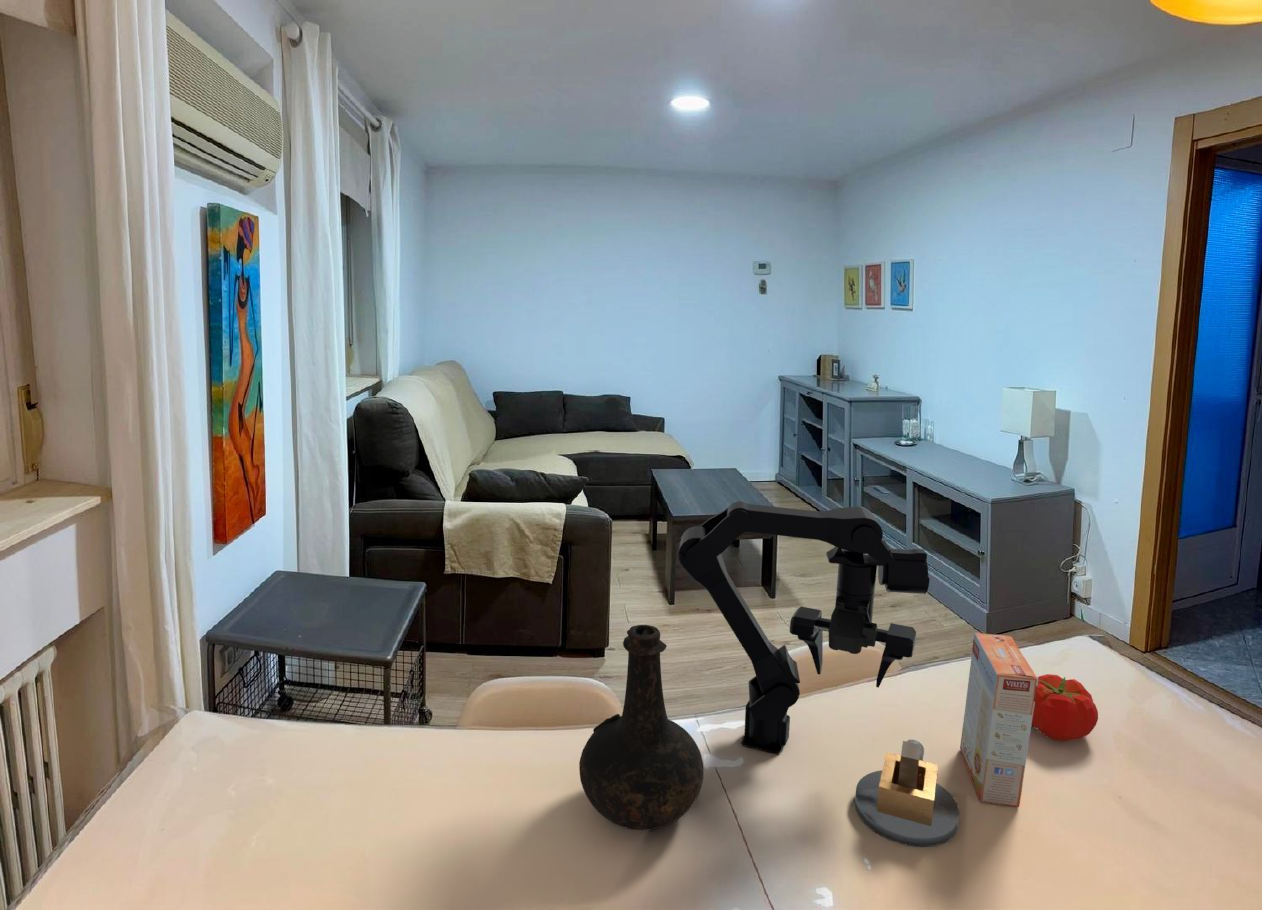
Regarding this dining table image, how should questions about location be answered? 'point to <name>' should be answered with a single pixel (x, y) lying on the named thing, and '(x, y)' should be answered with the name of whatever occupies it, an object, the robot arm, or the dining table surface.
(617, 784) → the glass bottle
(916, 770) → the block
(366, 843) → the dining table surface
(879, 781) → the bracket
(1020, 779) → the cracker box
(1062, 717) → the tomato
